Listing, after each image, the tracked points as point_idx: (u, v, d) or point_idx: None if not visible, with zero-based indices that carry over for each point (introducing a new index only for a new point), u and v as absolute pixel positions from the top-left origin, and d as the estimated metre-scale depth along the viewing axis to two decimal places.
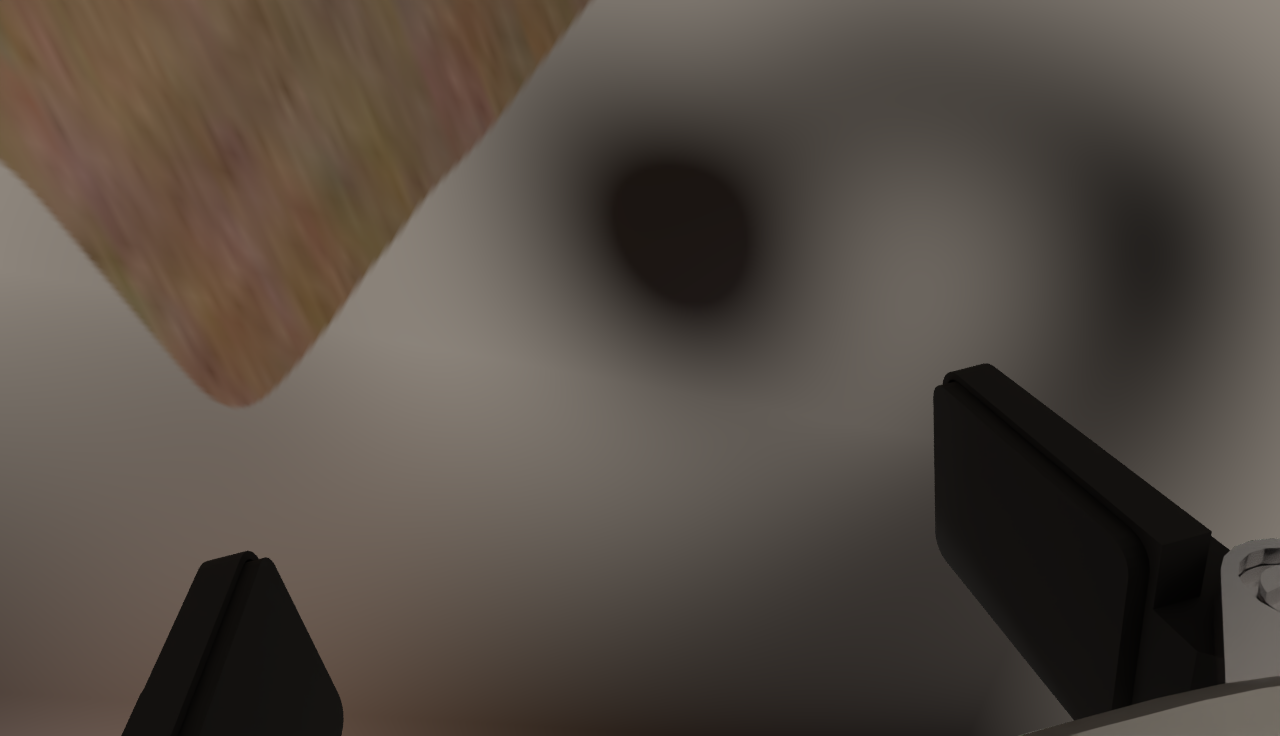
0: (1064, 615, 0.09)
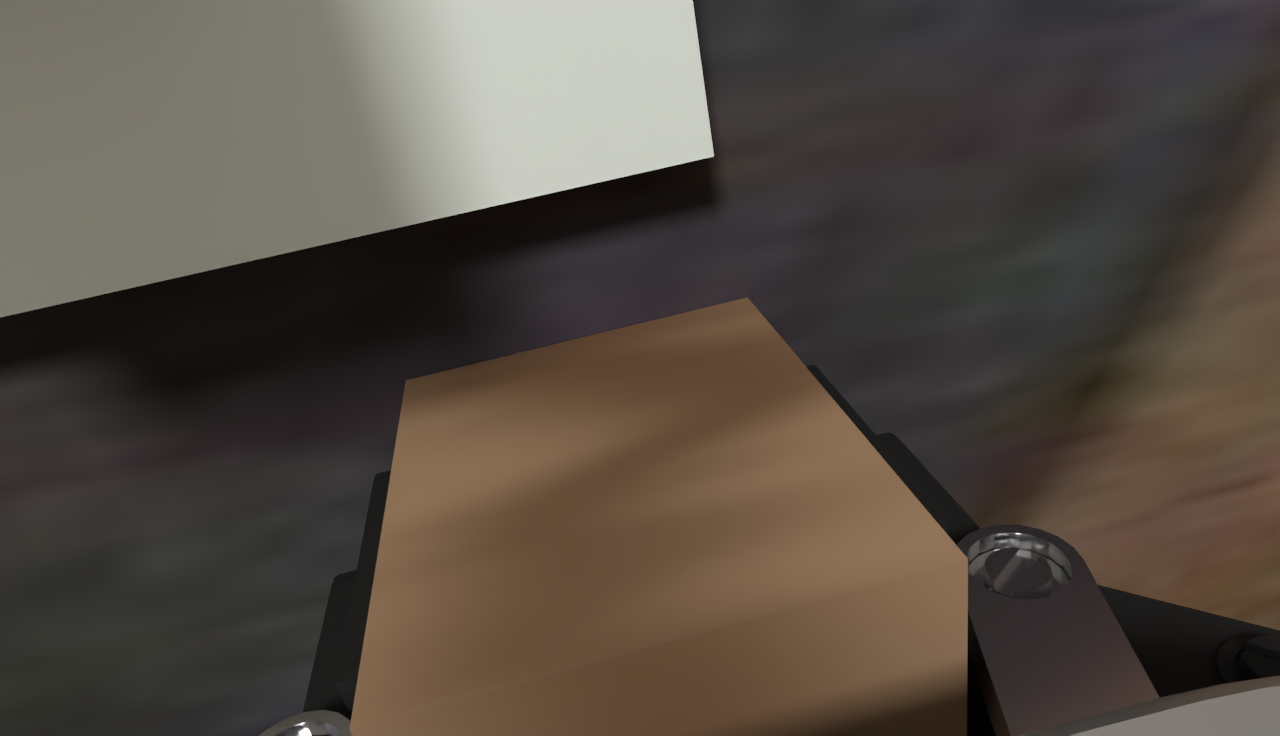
0: None
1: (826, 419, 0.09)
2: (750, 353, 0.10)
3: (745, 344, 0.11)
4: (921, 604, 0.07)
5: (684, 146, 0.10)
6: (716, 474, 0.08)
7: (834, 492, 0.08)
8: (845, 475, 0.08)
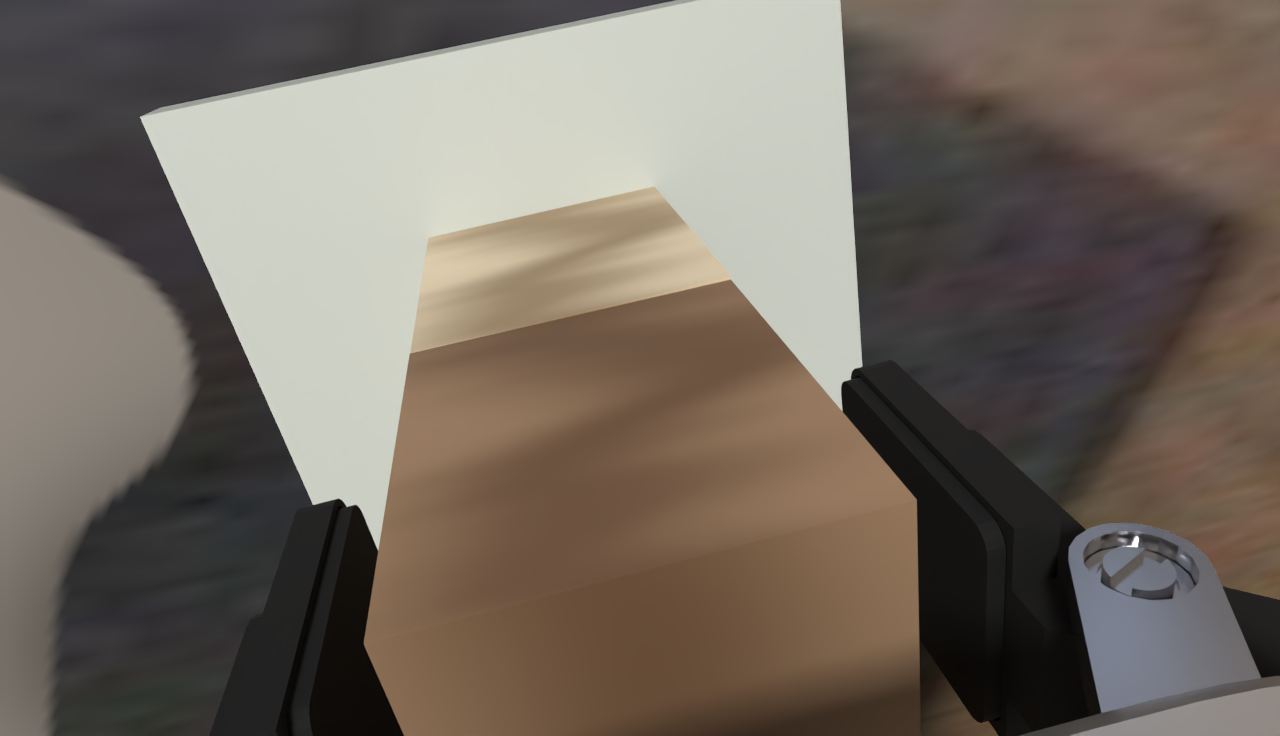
0: (946, 597, 0.10)
1: (798, 385, 0.10)
2: (730, 329, 0.11)
3: (727, 320, 0.11)
4: (876, 541, 0.08)
5: None
6: (695, 432, 0.09)
7: (801, 445, 0.08)
8: (812, 431, 0.09)
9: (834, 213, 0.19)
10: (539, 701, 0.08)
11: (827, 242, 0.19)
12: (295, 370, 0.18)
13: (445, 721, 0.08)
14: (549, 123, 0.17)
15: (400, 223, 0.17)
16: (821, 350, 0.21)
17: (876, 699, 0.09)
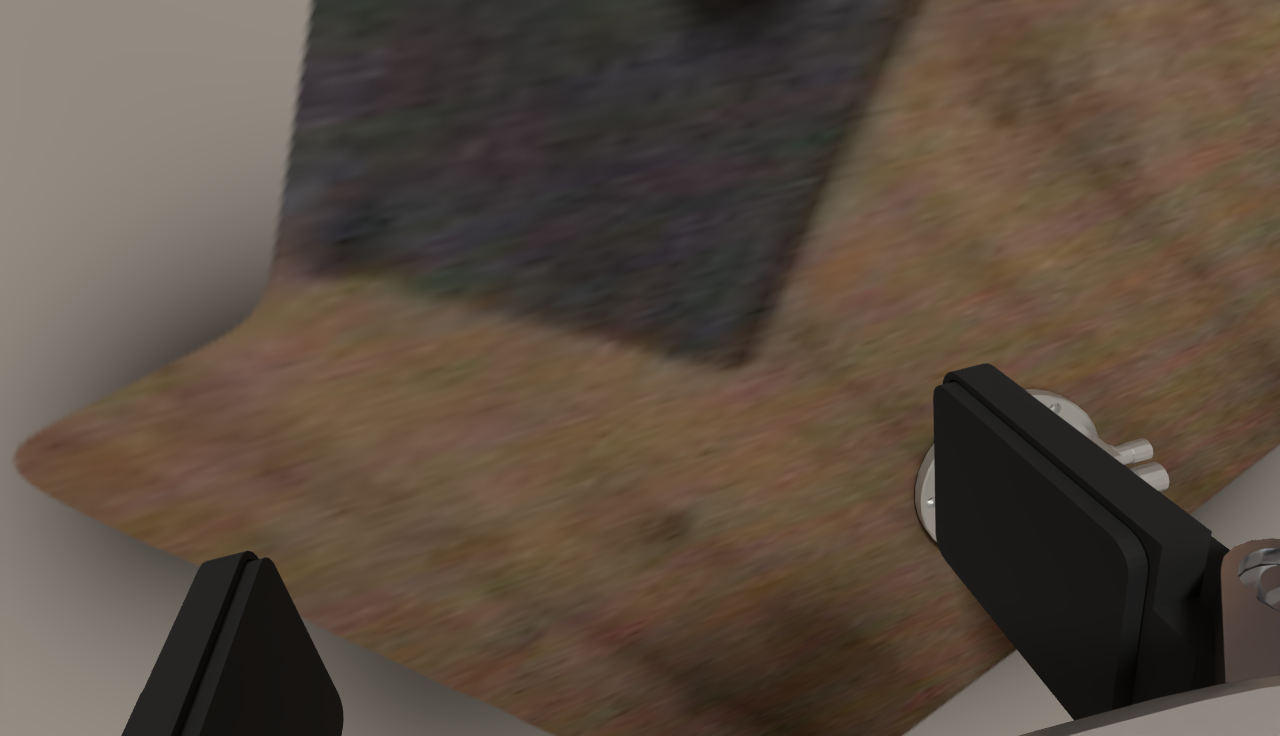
0: (1064, 614, 0.09)
1: None
2: None
3: None
4: None
5: None
6: None
7: None
8: None
9: None
10: None
11: None
12: None
13: None
14: None
15: None
16: None
17: None
